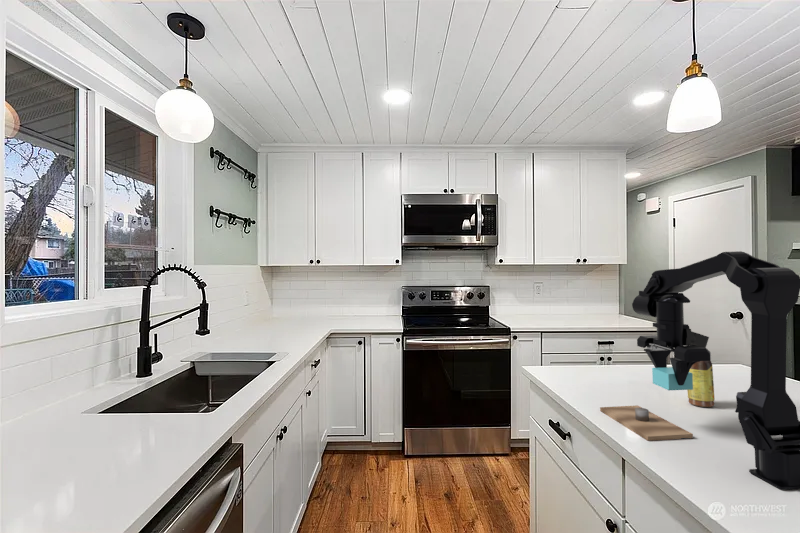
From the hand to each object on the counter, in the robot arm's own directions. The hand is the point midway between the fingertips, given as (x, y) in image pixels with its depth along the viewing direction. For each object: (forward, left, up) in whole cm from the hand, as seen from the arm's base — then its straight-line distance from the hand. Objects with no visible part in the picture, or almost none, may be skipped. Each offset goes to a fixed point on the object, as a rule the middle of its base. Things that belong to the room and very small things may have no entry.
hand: (671, 381), depth 101 cm
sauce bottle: (+14, -19, -12) cm, 26 cm away
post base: (+3, +6, -11) cm, 13 cm away
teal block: (0, 0, -1) cm, 1 cm away
